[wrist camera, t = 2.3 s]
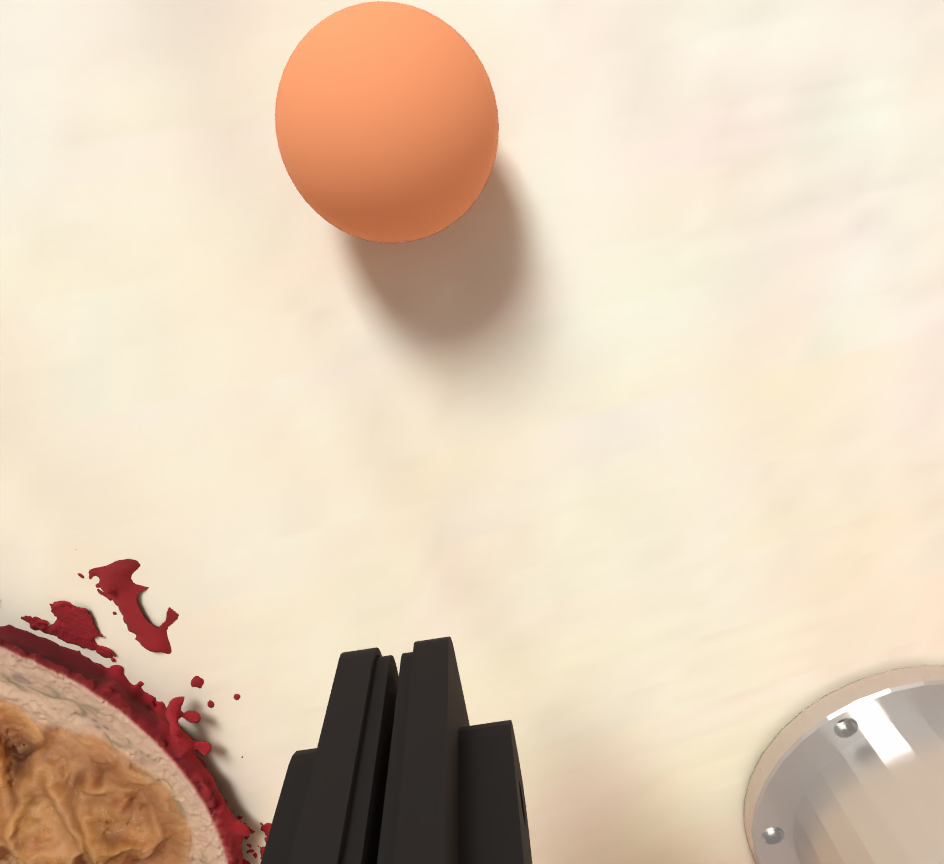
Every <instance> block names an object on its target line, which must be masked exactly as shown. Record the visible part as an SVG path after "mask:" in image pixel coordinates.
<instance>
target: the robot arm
mask: <svg viewBox="0 0 944 864" xmlns="http://www.w3.org/2000/svg"><path fill="white" fill-rule="evenodd" d="M744 825H745V829H746V833H747V837H748V841H749V845H750V848H751V850H752V852H753V855H754V857H755V859H756V861H757V863H758V864H944V666H942V665H924V666H917V667H910V668H902V669H895V670H891V671H887V672H884V673H880V674H877V675H873V676H870V677H867V678H863V679H860V680H858V681H856V682H853V683H851V684H849V685H847V686H845V687H843V688H840V689H838V690H836V691H834V692H832V693H830V694H828V695H827V696H825V697H824V698H822V699H820V700H819V701H817V702H816V703H814V704H813V705H811V706H810V707H808V708H807V709H805V710H804V711H802V712H801V713H800V714H799V715H798V716H797V717H796V718H795V719H794V720H793V721H791V722H790V723H789V724H788V725H787V726H786V727H785V728H784V729H783V730H781V731H780V733H779V734H778V735H777V736H776V738H775V739H774V740H773V742H772V743H771V744H770V745H769V747H768V748H767V749H766V751H765V752H764V753H763V755H762V757H761V759H760V761H759V763H758V764H757V766H756V768H755V770H754V772H753V774H752V776H751V779H750V783H749V787H748V790H747V794H746V798H745V811H744ZM261 864H532V857H531V847H530V838H529V829H528V820H527V812H526V804H525V796H524V789H523V782H522V776H521V769H520V763H519V758H518V752H517V746H516V741H515V735H514V730H513V725H512V721H511V720H507V721H500V722H493V723H487V724H480V725H473V726H470V725H469V720H468V715H467V710H466V705H465V701H464V696H463V691H462V686H461V681H460V676H459V672H458V667H457V662H456V657H455V652H454V647H453V643H452V640H451V637H444V638H437V639H430V640H424V641H417V642H415V643H414V648H413V652H409V653H403V654H402V656H401V663H400V672H399V675H398V671H397V667H396V663H395V660H394V657H393V656H392V655H389V656H383V657H382V655H381V652H380V650H379V648H370V649H364V650H357V651H350V652H344V653H342V654H341V655H340V658H339V662H338V666H337V670H336V674H335V678H334V682H333V686H332V690H331V694H330V698H329V702H328V706H327V710H326V714H325V718H324V723H323V727H322V731H321V735H320V739H319V743H318V747H317V748H314V749H307V750H301V751H296V752H295V753H294V755H293V756H292V758H291V761H290V763H289V766H288V769H287V773H286V776H285V780H284V783H283V787H282V790H281V794H280V797H279V801H278V804H277V808H276V811H275V815H274V818H273V822H272V825H271V829H270V832H269V836H268V839H267V843H266V846H265V850H264V853H263V857H262V860H261Z"/></svg>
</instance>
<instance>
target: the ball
mask: <svg viewBox="0 0 944 864" xmlns="http://www.w3.org/2000/svg"><path fill="white" fill-rule="evenodd" d="M275 124H276V135H277V140H278V146H279V150H280V153H281V156H282V160H283V163H284V165H285V167H286V170H287V172H288V174H289V176H290V178H291V180H292V181H293V183H294V185H295V187H296V188H297V190H298V191H299V193H300V194H301V195H302V197H303V198H304V199H305V201H306V202H307V203H308V204H309V205H310V206H311V207H312V208H313V209H314V210H315V211H316V212H317V213H318V214H319V215H320V216H321V217H323V218H324V219H325V220H326V221H328V222H329V223H330V224H332V225H334V226H335V227H337V228H339V229H340V230H342V231H344V232H346V233H349V234H351V235H353V236H356V237H359V238H362V239H365V240H370V241H376V242H384V243H399V242H409V241H414V240H418V239H422V238H425V237H427V236H430V235H433V234H435V233H437V232H439V231H441V230H442V229H444V228H446V227H448V226H449V225H451V224H452V223H453V222H455V221H456V220H457V219H459V218H460V217H461V216H462V215H463V214H464V213H465V212H466V211H467V210H468V209H469V208H470V206H471V205H472V204H473V203H474V201H475V200H476V199H477V198H478V196H479V194H480V193H481V191H482V189H483V188H484V186H485V184H486V182H487V180H488V177H489V175H490V173H491V170H492V167H493V163H494V160H495V157H496V151H497V145H498V131H499V123H498V110H497V105H496V100H495V95H494V92H493V89H492V86H491V83H490V80H489V77H488V75H487V73H486V71H485V69H484V67H483V64H482V63H481V61H480V59H479V58H478V56H477V55H476V53H475V52H474V50H473V49H472V48H471V46H470V45H469V44H468V43H467V42H466V40H465V39H464V38H463V37H462V36H461V35H460V34H459V33H458V32H457V31H456V30H454V29H453V28H452V27H451V26H450V25H448V24H447V23H446V22H444V21H443V20H441V19H440V18H438V17H436V16H435V15H433V14H431V13H429V12H427V11H425V10H422V9H419V8H416V7H413V6H410V5H406V4H401V3H395V2H378V1H377V2H368V3H361V4H357V5H354V6H350V7H347V8H345V9H342V10H340V11H338V12H335V13H333V14H332V15H330V16H329V17H327V18H325V19H324V20H322V21H321V22H320V23H318V24H317V25H316V26H315V27H314V28H313V29H311V30H310V31H309V32H308V33H307V35H306V36H305V37H304V38H303V39H302V40H301V41H300V42H299V44H298V45H297V47H296V48H295V50H294V51H293V53H292V54H291V56H290V58H289V60H288V62H287V64H286V67H285V69H284V71H283V74H282V77H281V80H280V83H279V88H278V93H277V98H276V109H275Z"/></svg>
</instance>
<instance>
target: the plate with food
mask: <svg viewBox="0 0 944 864" xmlns="http://www.w3.org/2000/svg"><path fill="white" fill-rule="evenodd" d="M76 550H77V549H76ZM139 567H140V564H139V562H138V561H136V560H132V559H125V560H118V561H116V562H113V563H111V564H109V565H107V566H104V567H98V568H94V569H91V570H89V579H92V577H93V576H98V577H99V579H100V581H99V583H98V584H96V587H97V588H100V587H101V589H102V590H103V592H102V591H101V590H99V589H97V591H98V592H99V593H100V594H101V595H103V596H105V597H107V598H108V599H109V600H110V601H111V600H113V601H114V603H115V604H116V605H117V606H119V610H120V612H121V614H122V615H123V620H124V622H125V623H126V624H127V626H128V630H129V631H130V632H132V633H134V634H136V635H137V636H136V638H135V639H136V640H137V641H139V642H140V644H141V645H142V646H143V647H144V648H145V649H147V650H149V651H152V652H163V653H166V654H170V653H171V646H170V643H169V640H168V637H167V629H168V626H170V625H171V624H173V623H174V622H175V621H176V620H177V619H178V616H179V615H178V614H177V613H176V612H175V611H173V610H172V609H171V608H170V607H169V608H168V611H167V618H166V621H165V622H164V623H163V624H162V625H161V626H159V627H158V628H157V627H155V626H154V625H153V624H151V623H149V622H148V621H147V620H146V619H145V618H144V616H143V614H142V612H141V611H140V608H139V606H138V604H137V602H136V600H137V596H138V594H139V592H141V591H144V590H146V589H147V588H149V587H144V586H141V585H137V584H135V583H133V581H132V579H131V576H132V574H133V573H134V572H135V571H136V570H137V569H138V568H139ZM78 575H79V576H80V577H81V578H84V576H83V575H82V574H80V573H78ZM50 606H51V609H52V610H51V612H52V613H53V614H54V616H56V617H57V620H56V621H55V623H54V624H52V625H51V626H48V622H47V621H46V620H41V619H40V618H38V617H33V618H32V617H31V616H25V617H21V619H23V620H25V621H26V622H28V623H30V628H31V629H33V630H41V631H42V632H44V633H46V634H50V635H55V636H57V637H58V638H59V639H61V640H63V641H65V642H66V643H71V644H75V645H78V646H80V647H81V648H88V649H90V650H96V652H97V653H98V654H100V655H101V656H103V657H105V658H112V656H114V657H116V654H114V653H113V652H112V651H111V650H110V649H108V648H107V647H104V646H100V645H97V643H96V641H95V640H94V637H95V636H100V637H103V635H102V634H97V633H99V632H98V630H97V629H96V626H94V624H93V618H92V616H91V615H90V614H88V612H89V611H88V610H87V609H86V608H80V607H76V606H74V605H72V604H71V603H70V602H67V601H58V602H54V603H53V604H50ZM113 615H117V613H116V612H113ZM111 661H112V662H114V661H115V659H114V658H112V659H111ZM123 670H124V669H123V667H122V666H120V665H113V666H111V667H110V668H106V667H104V666H103V665H101V664H98V663H94V662H92V661H91V660H90V659H89V658H88V657H85V656H83V655H82V654H81V653H80V651H75V650H71V649H69V648H66V647H62V646H59V645H58V644H57V643H55V642H53V641H50V640H49V639H47V638H42V637H38V636H36V635H34V634H32V633H30V632H28V631H25V630H21V629H18V628H15V627H13V626H11V625H7V626H2V627H1V626H0V864H251V863H250V862H249V861H246V860H245V859H243V855H242V851H241V844H242V841H243V836H245V839H248V838H249V835H250V832H251V833H254V832H255V831H254V830H252V829H250V828H249V827H248V826H247V825H246V824H245V823H242V822H241V821H239V820H238V819H242V816H238V817H237V818H238V819H237V818H236V817H235V816H234V815H233V813H232V812H231V811H230V809H229V808H228V806H227V801H226V800H225V799H224V798H223V797H222V795H221V793H220V792H219V790H218V788H217V786H216V785H215V782H214V778H213V776H212V775H211V773H210V772H208V771H207V768H206V764H205V762H204V761H203V760H202V759H201V758H200V757H199V756H198V755H197V754H196V753H195V751H194V750H198V751H199V752H200V753H201V754H202V755H203V756H206V755H207V754H208V753H209V752H210V751H211V745H210V744H209V743H208V742H206V741H202V742H198V741H194V740H192V739H191V738H190V737H189V735H188V734H186V733H185V732H184V731H183V730H182V729H181V727H180V726H179V724H178V719H179V718H181V717H183V718H185V719H186V720H187V721H189V722H191V723H198V722H199V721H200V718H201V717H200V715H199V713H197V712H195V711H186V712H185V713H183V712H182V711H181V706H182V704H183V701H184V697H176V698H173V699H172V700H171V701H170V702H169V705H168V707H167V708H166V707H165V705H164V703H163V702H157V701H156V698H155V697H153V696H152V695H149V694H148V693H146V692H144V691H143V689H142V688H141V686H142V685H144V683H143V682H141V681H140V682H138V684H137V685H132V684H131V683H130V682H129V681H128V679H127V678H126V677H125V675H124V674H123ZM203 684H204V679H202V678H200V677H199V676H195V677H194V678H193V679H192V680H191V686H192V687H198V688H201V687H202V685H203ZM239 698H240V695H239V694H235V695H234V699H235V700H239ZM208 707H210V708H213V707H214V702H213V701H211V700H209V702H208ZM241 758H243V756H242V757H241ZM260 824H261V825H262V826H261V831H264V832H265V835H267V837H266V838H265V842H266V843H267V839H268V836H269V832H270V829H271V825H272V824H271V823H266V824H265V825H263V824H262V823H260ZM247 846H249V847H251V845H250V844H247ZM258 847H260V846H258ZM260 849H261V850H260V853H261V859H262V857H263V853H264V850H265V847H260ZM249 852H254V850H248V851H247V853H249ZM253 856H254V857H255V858H256V857H257V854H256V853H254V854H253Z"/></svg>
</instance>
